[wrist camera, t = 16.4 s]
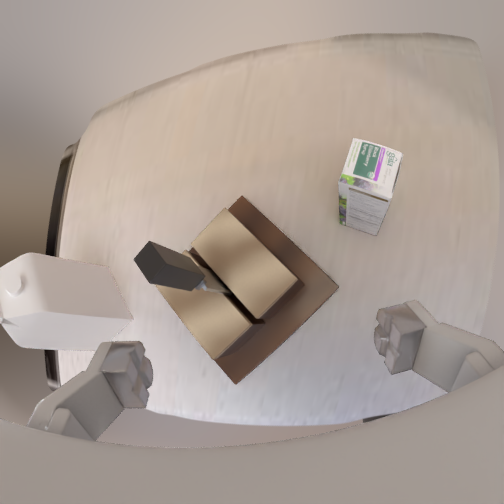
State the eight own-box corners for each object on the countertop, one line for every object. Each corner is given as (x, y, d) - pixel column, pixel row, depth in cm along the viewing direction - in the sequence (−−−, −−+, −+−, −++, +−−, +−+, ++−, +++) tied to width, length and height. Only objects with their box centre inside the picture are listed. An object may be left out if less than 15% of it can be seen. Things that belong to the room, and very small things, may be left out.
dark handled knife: (237, 288, 36) (170, 269, 22) (225, 300, 36) (153, 289, 22) (217, 265, 37) (145, 235, 24) (205, 278, 37) (129, 254, 24)
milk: (77, 300, 53) (-31, 283, 29) (108, 266, 52) (-9, 234, 28) (99, 351, 49) (-20, 353, 25) (133, 319, 48) (1, 309, 24)
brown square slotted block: (339, 287, 39) (338, 280, 32) (237, 383, 40) (214, 396, 33) (243, 197, 46) (224, 175, 39) (160, 287, 47) (129, 280, 40)
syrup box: (350, 189, 41) (350, 134, 28) (388, 201, 39) (404, 150, 26) (339, 224, 41) (334, 180, 27) (378, 237, 39) (392, 199, 25)
